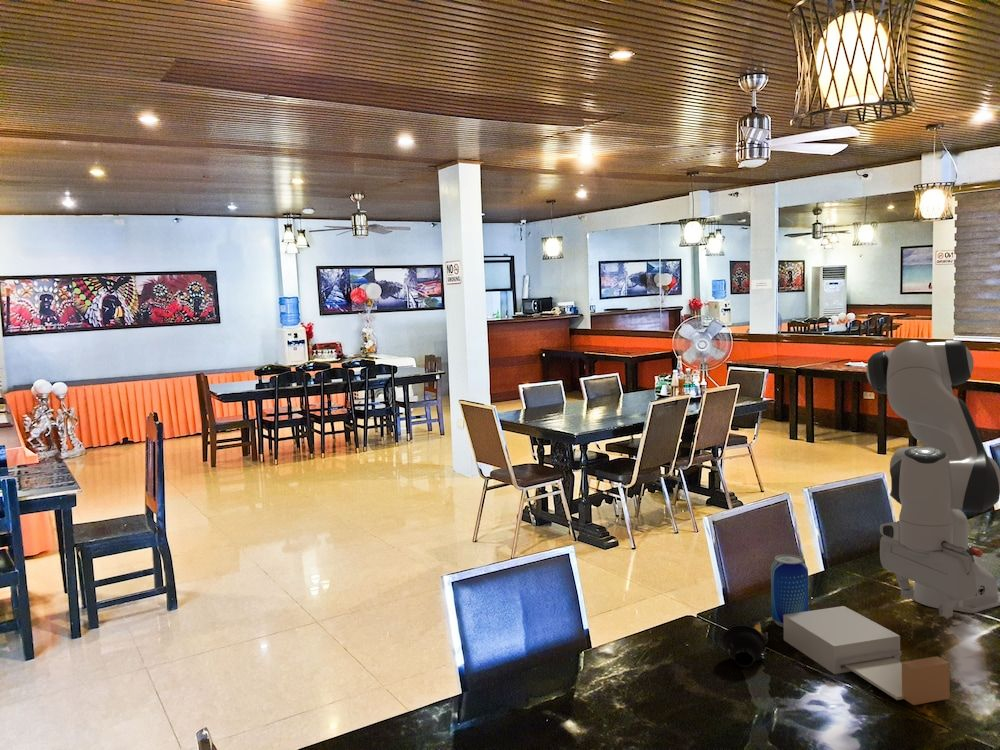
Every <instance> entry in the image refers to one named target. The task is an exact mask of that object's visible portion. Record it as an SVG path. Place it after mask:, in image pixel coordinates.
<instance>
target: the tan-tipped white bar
mask: <svg viewBox="0 0 1000 750" xmlns="http://www.w3.org/2000/svg"><path fill="white" fill-rule="evenodd" d="M950 665H951V664H950V662H949V661H947V660H945V659H943V658H942V657H939V656H936V655H935V656H930V657H925V658H918V659H912V660H907V661H900V662H899V661H898V660H896V659H894V658H892V657H886V658H880V659H874V660H868V661H862V662H856V663H850V664H844V665H843V666H845V667H847V668H848V669H850V670H851V672H853V673H854V674H856V675H857V676H859V677H860V678H862V679H864V680H865V681H867V682H868V683H870V684H871V685H873V686H874V687H876V688H878V689H879V690H881V691H882V692H883V693H885V694H886V695H888V696H890V697H891V698H893V699H895V700H896V701H899V700H900V701H901V700H905V701H906V702H908V703H909V704H911V705H912V706H917V705H922V704H926V703H932V702H938V701H944V700H949V699H950V697H951V696H950V695H951V694H950V692H951V691H950V688H951V685H950V681H951V680H950V675H951V673H950V670H951V669H950V668H951V667H950Z"/></svg>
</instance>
